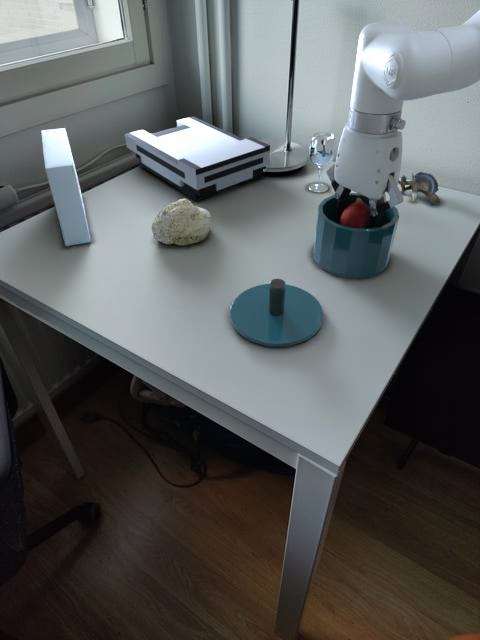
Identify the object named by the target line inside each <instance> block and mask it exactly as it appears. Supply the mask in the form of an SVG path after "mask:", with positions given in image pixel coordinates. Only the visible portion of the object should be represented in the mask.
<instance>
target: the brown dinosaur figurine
mask: <svg viewBox="0 0 480 640" xmlns="http://www.w3.org/2000/svg"><path fill="white" fill-rule="evenodd" d="M409 173H410V175H411V179H412V180H408V178H407V177H406V175H404V174H402V176H401V178H400V179H399V180H398V185H400V188H401V191H400V192H401V194H404V193H405V192H406V191H410V190H411V195H412V201H411V202H412V203H414V202H415V201H416V199H417V197H418V193H422V194H424V195H425V197H426V198H428V199H429V202H431V204H433V205H435V206H437V205H438V206H439V205H440V204H441V200H440V197H438V195H437V194H436V193H438V192H439V183H438V180H437V179H436V178H435V176H434V175H433V174H431V173H427V172H423V171H420V172H417V173H415V174H414V173H413V171H412V169H410V170H409Z"/></svg>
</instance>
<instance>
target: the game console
mask: <svg viewBox="0 0 480 640" xmlns="http://www.w3.org/2000/svg"><path fill="white" fill-rule="evenodd" d="M124 140H125V145H126V148H127V149H129V150H130V151H132V152H133V153H134V154H135V157H136V158H137V159H139V160H140V164H141V165H140V166H141V168H143V169H145V170H146V171H148V172H150V173H152V174H153V175H155V176H156V177H158V178H159V179H160V180H162V181H164V182H166V184H169V185H170V186H172V187H174V188H175V189H177V190H178V191H180V192H181V193H183V194H184V195H186V196H187V197H189V198H191V199H192V200H194V201H196V202H197V201H199V200H202V199H204V198H208V197H210V196H213V195H216V194H218V192H219V191H220V190H223V189H226V188H228V187H231V186H233V185H236V184H241V185H243V184H246V183H249V182H251V181H253V180H257V179H259V178H261V176H262V175H263V174H266V173H265V172H263V169H265V168H266V169H267V166H269V165H271V164H270V163H271V144H269V143H266V142H264V141H261V140H259V139H257V138H254V137H251V136H250V137H247V138H243V137H240V136H238V135H236V134H233V133H232V132H229V131H227V130H224V129H222V128H220V127H218V126H216V125H213V124H211V123H209V122H206V121H204V120H202V119H200V118H197V117H196V116H188V117H185V118H181V119H177V120H176V126H175V127H172V128H171V127H170V128H167V129H164V130H159V131H157V132H153V133H152V132H148V131H146V130H144V129H138V130H135V131H131V132H128V133H125V134H124Z"/></svg>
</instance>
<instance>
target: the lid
mask: <svg viewBox="0 0 480 640" xmlns="http://www.w3.org/2000/svg"><path fill="white" fill-rule="evenodd" d="M323 311H324V310H323V308H322V304H321V303H320V302H319V300H318V299H317V298H316V297H315V296H314V295H313V294H311V293H310V292H309V291H307V290H305V289H302V288H300V287H297V286H295V285H291V284H287V283H286V281H285V280H284V279H281V278H273V279H270V281H269V283H264V284H259V285H255V286H252V287H250V288H247V289H245V290H244V291H242V292H241V293H239V294H238V295H237V296H236V297H235V299H234V300H233V301H232V303H231V305H230V310H229V317H230V321H231V324H232V326H233V328H234V329H235V330H236V332H238V333H239V334H240V335H241V336H242V337H243V338H245V339H247V340H249V341H251V342H254V343H256V344H259V345H262V346H263V345H264V346H269V347H287V346H293V345H298V344H300V343H303V342H305V341H307V340H309V339H311V338H312V337H313V336H314V335H315V334H316V333H318V331H319V330H320V328H321V326H322V324H323V319H324V312H323Z"/></svg>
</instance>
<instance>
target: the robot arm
mask: <svg viewBox="0 0 480 640" xmlns="http://www.w3.org/2000/svg"><path fill="white" fill-rule="evenodd" d="M352 80H353V81H352V87H351V94H350V95H351V96H350V103H349V112H348V119H347V123H345V125H344V126H343V130H342V134H341V136H340V139H339V144H338V148H337V153H336V158H335V163H334V164H333V165H331V166H330V167H329V168H327V170H326V175H327V177H328V179H329V182H330V185H331V187H332V189H333V191H334V194H333V195H334V196H335V198H336V199H337V205H336V214H335V220H336V221H340V218H341V215H342V213H343V211H344V210H345V209H346V208H347V207H348V206H349V205H351V201H352V196H351V195H349V194H350V193H352V192H354V193H359V194H361V195H364V196H366V197H368V198H369V204H370V211H371V213H369V214H368V215H367V218H366V224H365V229H371V228H377V227H380V225H381V220H382V215H383V212H385V211H387V210H388V209H390V208H392V207H394V206H395V207H396V206H398V205H400V204H402V203H403V202H404V201H405V200H404V197H403V195H402V194H403V193H401V191H400V188H399V186H398V185H399V184H398V180H399V181H400V174H401V166H402V158H403V132H402V130H404V129H405V126H406V123H407V122H406V120H405V119H403V118H402V113H403V111H402V110H403V107H404V101H407V102H408V101H414V100H419V99H423V98H428V97H432V96H435V95H441V94H446V93H450V92H457V91H460V90H463V89H466V88H468V87H470V86H472V85H475V84H476V83H478V82H479V81H480V9H479V10H477V11H476V12H475V13H474V14H473V15H472V16H471V17H469V18H468V19H467V20H465V22H463V23H462V24H460V25H455V26H445V27H440V28H431V29H428V30H421V31H416V29H415V28H414V27H413V26H412V25H411V24H409V23H406V22H401V21H390V20H389V21H386V20H385V21H375V22H371V23H368V24H366V25H365V26H363V28H362V29H361V31H360V33H359V36H358V43H357V50H356V57H355V65H354V73H353V79H352ZM386 193H387V194H388V196H389V200H387V195H386ZM377 200H378V202H379V206H378V204H377ZM386 201H387V202H386Z"/></svg>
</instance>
